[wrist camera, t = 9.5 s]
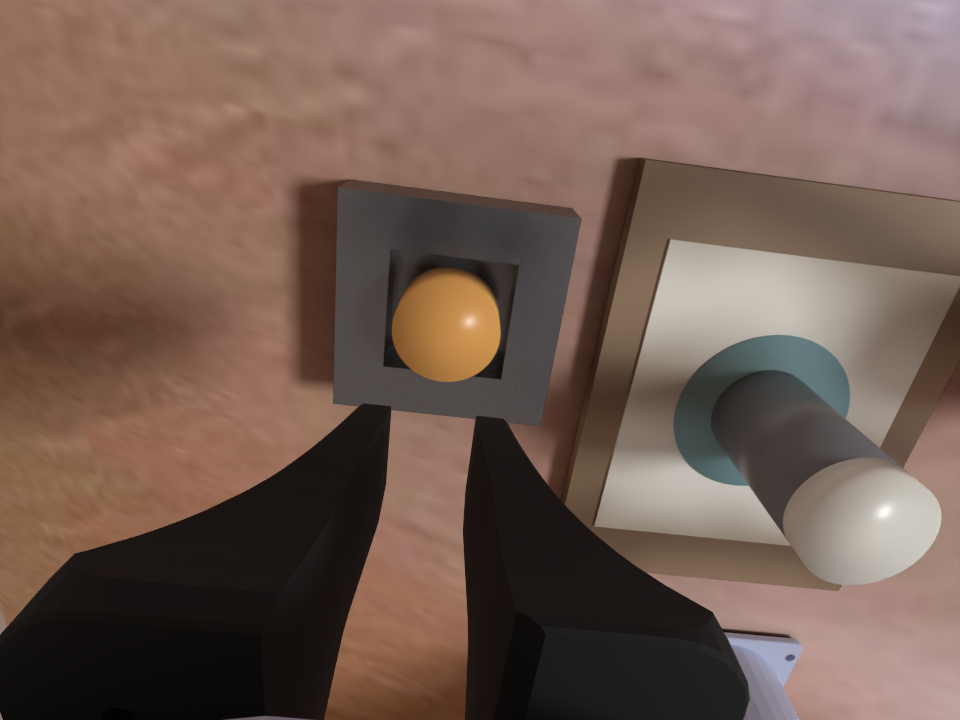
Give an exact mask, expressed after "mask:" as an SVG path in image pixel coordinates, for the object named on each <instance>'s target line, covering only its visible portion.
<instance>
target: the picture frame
mask: <svg viewBox="0 0 960 720" xmlns="http://www.w3.org/2000/svg"><path fill="white" fill-rule="evenodd" d="M959 360H960V201H956V200H949V199H942V198H934V197H927V196H919V195H912V194H905V193H897V192H890V191H882V190H875V189H868V188H860V187H853V186H845V185H838V184H831V183H823V182H816V181H808V180H801V179H794V178H786V177H779V176H772V175H764V174H757V173H749V172H742V171H735V170H727V169H720V168H712V167H705V166H698V165H690V164H683V163H675V162H668V161H661V160H653V159H646V158H640V159H639V163H638V167H637V172H636V176H635V181H634V185H633V189H632V194H631V198H630V202H629V207H628V211H627V215H626V220H625V224H624V228H623V233H622V237H621V242H620V246H619V250H618V255H617V259H616V263H615V268H614V272H613V276H612V281H611V285H610V289H609V294H608V298H607V302H606V307H605V311H604V316H603V320H602V324H601V329H600V333H599V337H598V342H597V346H596V350H595V355H594V359H593V363H592V368H591V372H590V377H589V381H588V385H587V390H586V394H585V398H584V403H583V407H582V411H581V416H580V420H579V424H578V429H577V433H576V438H575V442H574V446H573V451H572V455H571V459H570V464H569V468H568V472H567V477H566V481H565V485H564V490H563V494H562V499H561V501H562V502H563V504H564V505H565V506H566V507H567V508H568V509H569V510H570V511H571V512H572V513H573V514H574V515H575V516H576V517H577V518H578V519H579V520H580V521H581V522H582V523H583V524H584V525H585V526H587V527H588V528H589V529H590V530H591V531H592V532H593V533H594V534H596V535H597V536H598V537H599V538H600V539H602V540H603V541H604V542H605V543H606V544H608V545H609V546H610V547H611V548H613V549H614V550H615V551H616V552H618V553H619V554H620V555H622V556H623V557H624V558H626V559H627V560H628V561H630V562H631V563H632V564H634V565H635V566H637V567H638V568H640V569H641V570H643V571H644V572H646V573H654V574H665V575H675V576H686V577H696V578H707V579H717V580H728V581H738V582H749V583H759V584H770V585H780V586H791V587H801V588H812V589H822V590H833V591H839V589H840V587H841V585H840V584H834V583H830V582H827V581H825V580H822V579H820V578H818V577H817V576H815V575H814V574H813V573H811V572H810V571H809V570H808V568H807V567H806V566H805V565H804V563H803V562H802V560H801V559H800V558H799V556H798V555H797V553H796V552H795V550H794V549H793V548H792V546H791V545H790V543H789V542H788V541H787V539H786V538H785V536H784V535H783V534H782V532H781V531H780V529H779V528H778V526H777V525H776V524H775V522H774V521H773V519H772V518H771V517H770V515H769V514H768V512H767V511H766V509H765V508H764V507H763V505H762V504H761V502H760V501H759V500H758V498H757V497H756V495H755V494H754V492H753V491H752V490H751V488H750V487H749V485H748V484H747V483H746V481H745V480H744V478H743V477H742V476H741V474H740V473H739V471H738V470H737V468H736V467H735V466H734V464H733V463H732V461H731V460H730V459H729V457H728V456H727V454H726V453H725V451H724V450H723V449H722V447H721V446H720V444H719V443H718V442H717V440H716V438H715V437H714V435H713V432H712V428H711V416H712V411H713V408H714V406H715V403H716V402H717V400H718V398H719V397H720V396H721V394H722V393H723V392H724V391H725V390H726V389H727V388H728V387H729V386H730V385H731V384H733V383H734V382H735V381H737V380H738V379H740V378H742V377H744V376H746V375H749V374H751V373H755V372H759V371H765V370H777V371H783V372H787V373H790V374H792V375H794V376H796V377H797V378H798V379H800V380H801V381H802V382H803V383H805V384H806V385H807V386H808V387H809V388H810V389H812V390H813V391H814V392H815V393H816V394H817V395H819V396H820V397H821V398H822V399H823V400H824V401H826V402H827V403H828V404H829V405H830V406H831V407H833V408H834V409H835V410H836V411H837V412H838V413H840V414H841V415H842V416H843V417H844V418H845V419H846V420H848V421H849V422H850V423H851V424H852V425H853V426H855V427H856V428H857V429H858V430H859V431H860V432H862V433H863V434H864V435H865V436H866V437H867V438H869V439H870V440H871V441H872V442H873V443H874V444H876V445H877V446H878V447H879V448H880V449H881V450H883V451H884V452H885V453H886V454H887V455H888V456H890V457H891V458H892V459H893V460H894V461H895V462H897V463H898V464H899V465H900V466H901V467H902V468H903V467H904V465H905V463H906V461H907V459H908V457H909V456H910V454H911V452H912V450H913V448H914V446H915V444H916V442H917V440H918V438H919V436H920V435H921V433H922V431H923V429H924V427H925V425H926V423H927V421H928V419H929V417H930V415H931V414H932V412H933V410H934V408H935V406H936V404H937V402H938V400H939V398H940V396H941V394H942V393H943V391H944V389H945V387H946V385H947V383H948V381H949V379H950V377H951V375H952V373H953V372H954V370H955V368H956V366H957V364H958V362H959Z"/></svg>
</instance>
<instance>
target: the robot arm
mask: <svg viewBox="0 0 960 720" xmlns="http://www.w3.org/2000/svg"><path fill="white" fill-rule="evenodd" d="M390 418H391V406H384V405H374V404H365V403H363V404H362V405H360V406H359V407H358V408H357V409H356V410H355V411H353V412H352V413H351V414H350V415H349V416H348V417H347V418H346V419H345V420H344V421H343V422H342V423H340V424H339V425H338V426H337V427H336V428H335V429H334V430H333V431H331V432H330V433H329V434H328V435H327V436H326V437H324V438H323V439H322V440H321V441H320V442H318V443H317V444H316V445H315V446H314V447H312V448H311V449H310V450H308V451H307V452H306V453H304V454H303V455H302V456H300V457H299V458H298V459H296V460H295V461H293V462H292V463H291V464H289V465H288V466H287V467H285V468H284V469H282V470H281V471H279V472H278V473H276V474H275V475H273V476H271V477H270V478H268V479H266V480H265V481H263V482H261V483H259V484H258V485H256V486H254V487H252V488H251V489H249V490H247V491H245V492H243V493H241V494H239V495H237V496H235V497H233V498H231V499H228V500H226V501H224V502H222V503H220V504H218V505H216V506H214V507H212V508H210V509H208V510H205V511H203V512H201V513H198V514H196V515H193V516H191V517H188V518H186V519H184V520H181V521H179V522H176V523H173V524H170V525H168V526H165V527H162V528H159V529H157V530H154V531H151V532H148V533H145V534H142V535H139V536H136V537H132V538H129V539H125V540H122V541H118V542H115V543H112V544H108V545H105V546H101V547H98V548H95V549H91V550H87V551H84V552H80V553H76V554H74V555H73V556H72V557H71V558H70V559H69V560H68V561H67V562H66V563H65V564H64V565H63V566H62V567H61V568H60V569H59V570H58V571H57V572H56V573H55V574H54V575H53V576H52V577H51V578H50V579H49V580H48V581H47V582H46V584H45V585H44V586H43V587H42V588H41V589H40V590H39V591H38V593H37V594H36V595H35V596H34V597H33V598H32V599H31V601H30V602H29V603H28V604H27V605H26V606H25V607H24V609H23V610H22V611H21V612H20V613H19V614H18V615H17V617H16V618H15V619H14V620H13V621H12V622H11V623H10V624H9V626H8V627H7V628H6V629H5V630H4V631H3V632H2V634H1V635H0V713H1V715H2V718H3V720H324V717H325V712H326V707H327V703H328V698H329V693H330V689H331V684H332V680H333V675H334V671H335V666H336V662H337V657H338V653H339V648H340V644H341V639H342V635H343V631H344V627H345V624H346V620H347V617H348V613H349V610H350V607H351V604H352V601H353V598H354V595H355V592H356V589H357V586H358V583H359V580H360V577H361V574H362V571H363V568H364V565H365V561H366V558H367V555H368V552H369V549H370V546H371V543H372V540H373V537H374V534H375V531H376V528H377V525H378V521H379V516H380V511H381V506H382V501H383V496H384V491H385V486H386V476H387V461H388V447H389V433H390ZM463 541H464V560H465V577H466V595H467V612H468V662H467V687H466V708H465V720H800V719H799V717H798V715H797V713H796V711H795V709H794V708H793V706H792V704H791V702H790V700H789V698H788V696H787V694H786V692H785V690H784V688H783V687H784V685H785V683H786V681H787V679H788V677H789V676H790V674H791V672H792V670H793V668H794V666H795V664H796V662H797V660H798V658H799V656H800V654H801V652H802V650H803V648H802V646H801V644H800V642H799V641H798V640H797V639H793V638H782V637H771V636H760V635H749V634H738V633H727V632H724V631H723V630H722V628H721V626H720V625H719V623H718V621H717V619H716V617H715V616H714V614H713V612H711V611H710V610H708V609H706V608H704V607H703V606H701V605H699V604H697V603H695V602H694V601H692V600H690V599H688V598H687V597H685V596H683V595H681V594H680V593H678V592H676V591H674V590H672V589H671V588H669V587H667V586H665V585H664V584H662V583H661V582H659V581H658V580H656V579H655V578H653V577H652V576H650V575H649V574H647V573H646V572H644V571H643V570H641V569H640V568H638V567H637V566H635V565H634V564H632V563H631V562H630V561H628V560H627V559H626V558H624V557H623V556H622V555H620V554H619V553H618V552H616V551H615V550H614V549H613V548H611V547H610V546H609V545H608V544H606V543H605V542H604V541H603V540H602V539H600V538H599V537H598V536H597V535H596V534H594V533H593V532H592V531H591V530H590V529H589V528H588V527H587V526H585V525H584V524H583V523H582V522H581V521H580V520H579V519H578V518H577V517H576V516H575V515H574V514H573V513H572V512H571V511H570V510H569V509H568V508H567V507H566V506H565V505H564V504H563V502H562V501H561V500H560V499H559V498H558V497H557V496H556V494H555V493H554V492H553V491H552V490H551V488H550V487H549V486H548V485H547V483H546V482H545V481H544V479H543V478H542V477H541V475H540V474H539V473H538V471H537V470H536V468H535V467H534V465H533V464H532V463H531V461H530V460H529V458H528V457H527V455H526V454H525V452H524V451H523V449H522V447H521V446H520V444H519V443H518V441H517V439H516V437H515V436H514V434H513V432H512V430H511V429H510V427H509V425H508V423H507V422H506V421H505V419H503V418H494V417H485V416H476V421H475V428H474V435H473V442H472V449H471V456H470V463H469V470H468V477H467V484H466V491H465V507H464V523H463Z"/></svg>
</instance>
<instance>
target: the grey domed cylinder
mask: <svg viewBox="0 0 960 720" xmlns="http://www.w3.org/2000/svg"><path fill="white" fill-rule="evenodd" d="M711 428H712V432H713V435H714V437H715V438H716V440H717V442H718V443H719V444H720V446H721V447H722V449H723V450H724V451H725V453H726V454H727V456H728V457H729V459H730V460H731V461H732V463H733V464H734V466H735V467H736V468H737V470H738V471H739V473H740V474H741V476H742V477H743V478H744V480H745V481H746V483H747V484H748V485H749V487H750V488H751V490H752V491H753V492H754V494H755V495H756V497H757V498H758V500H759V501H760V502H761V504H762V505H763V507H764V508H765V509H766V511H767V512H768V514H769V515H770V517H771V518H772V519H773V521H774V522H775V524H776V525H777V526H778V528H779V529H780V531H781V532H782V534H783V535H784V536H785V538H786V539H787V541H788V542H789V543H790V545H791V546H792V548H793V549H794V550H795V552H796V553H797V555H798V556H799V558H800V559H801V560H802V562H803V563H804V565H805V566H806V567H807V568H808V570H809V571H810V572H811V573H813V574H814V575H815V576H817V577H818V578H820V579H822V580H825V581H827V582H830V583H834V584H840V585H862V584H869V583H873V582H877V581H880V580H884V579H886V578H889V577H891V576H894V575H896V574H898V573H900V572H902V571H903V570H905V569H906V568H908V567H910V566H911V565H912V564H914V563H915V562H916V561H917V560H918V559H920V558H921V557H922V556H923V555H924V554H925V553H926V551H927V550H928V549H929V548H930V546H931V545H932V544H933V542H934V540H935V538H936V537H937V534H938V532H939V529H940V525H941V509H940V506H939V503H938V501H937V499H936V498H935V496H934V495H933V494H932V493H931V492H930V491H929V490H928V489H927V488H926V487H925V486H923V485H922V484H921V483H920V482H919V481H918V480H916V479H915V478H914V477H913V476H912V475H911V474H909V473H908V472H907V471H906V470H905V469H904V468H902V467H901V466H900V465H899V464H898V463H897V462H895V461H894V460H893V459H892V458H891V457H890V456H888V455H887V454H886V453H885V452H884V451H883V450H881V449H880V448H879V447H878V446H877V445H876V444H874V443H873V442H872V441H871V440H870V439H869V438H867V437H866V436H865V435H864V434H863V433H862V432H860V431H859V430H858V429H857V428H856V427H855V426H853V425H852V424H851V423H850V422H849V421H848V420H846V419H845V418H844V417H843V416H842V415H841V414H840V413H838V412H837V411H836V410H835V409H834V408H833V407H831V406H830V405H829V404H828V403H827V402H826V401H824V400H823V399H822V398H821V397H820V396H819V395H817V394H816V393H815V392H814V391H813V390H812V389H810V388H809V387H808V386H807V385H806V384H805V383H803V382H802V381H801V380H800V379H798V378H797V377H796V376H794V375H792V374H790V373H787V372H783V371H777V370H765V371H759V372H755V373H751V374H749V375H746V376H744V377H742V378H740V379H738V380H737V381H735V382H734V383H733V384H731V385H730V386H729V387H728V388H727V389H726V390H725V391H724V392H723V393H722V394H721V396H720V397H719V398H718V400H717V402H716V403H715V406H714V408H713V411H712V416H711Z"/></svg>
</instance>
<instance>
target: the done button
mask: <svg viewBox="0 0 960 720" xmlns="http://www.w3.org/2000/svg"><path fill="white" fill-rule="evenodd" d="M500 335H501V330H500V318H499V309H498V304H497V301H496V298H495V296H494V294H493V292H492V290H491V289H490V287H489V286H488V285H487V284H486V283H485V282H484V281H483V280H482V279H481V278H480V277H478V276H477V275H475V274H474V273H472V272H470V271H468V270H465V269H461V268H457V267H439V268H434V269H431V270H428V271H426V272H424V273H422V274H420V275H419V276H417V277H416V278H415V279H414V280H413V281H411V283H410V284H409V285H408V286H407V288H406V289H405V291H404V293H403V295H402V297H401V299H400V302H399V304H398V307H397V309H396V312H395V315H394V318H393V323H392V338H393V342H394V346H395V348H396V351H397V353H398V354H399V356H400V358H401V359H402V360H403V362H404V363H405V364H406V365H407V366H408V367H409V368H410V369H412V370H413V371H414V372H416V373H417V374H419V375H421V376H423V377H425V378H428V379H431V380H434V381H440V382H455V381H461V380H464V379H467V378H470V377H472V376H474V375H476V374H477V373H479V372H480V371H482V370H483V369H484V368H485V367H486V366H487V365H488V364H489V363H490V362H491V360H492V359H493V358H494V356H495V354H496V352H497V349H498V347H499V343H500Z"/></svg>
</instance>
